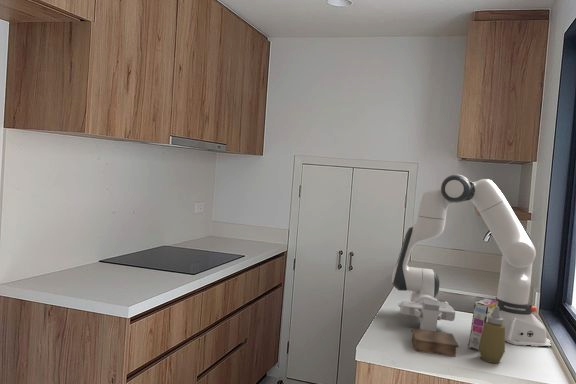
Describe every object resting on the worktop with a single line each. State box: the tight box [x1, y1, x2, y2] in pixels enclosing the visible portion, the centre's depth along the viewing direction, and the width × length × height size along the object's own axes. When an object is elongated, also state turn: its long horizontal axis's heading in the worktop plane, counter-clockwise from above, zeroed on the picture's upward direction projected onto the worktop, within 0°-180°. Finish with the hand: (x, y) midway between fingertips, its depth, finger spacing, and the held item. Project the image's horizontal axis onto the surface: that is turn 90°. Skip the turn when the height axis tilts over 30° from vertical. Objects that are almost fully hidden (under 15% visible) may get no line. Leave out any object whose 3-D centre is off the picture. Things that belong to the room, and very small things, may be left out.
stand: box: [411, 327, 459, 357], centre depth 180 cm, size 14×12×4 cm
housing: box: [419, 300, 439, 332], centre depth 193 cm, size 5×5×12 cm
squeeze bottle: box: [479, 306, 506, 364], centre depth 173 cm, size 8×8×18 cm
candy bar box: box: [468, 298, 498, 352], centre depth 186 cm, size 11×5×16 cm, turn 141°
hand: (429, 316), depth 192 cm, fingers closed on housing, 5 cm apart
